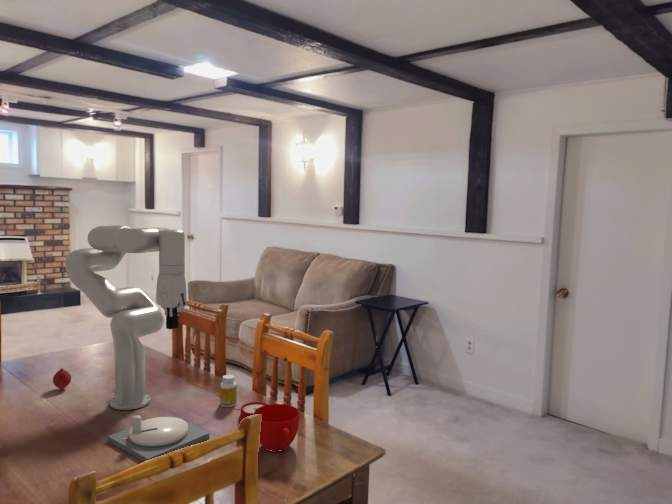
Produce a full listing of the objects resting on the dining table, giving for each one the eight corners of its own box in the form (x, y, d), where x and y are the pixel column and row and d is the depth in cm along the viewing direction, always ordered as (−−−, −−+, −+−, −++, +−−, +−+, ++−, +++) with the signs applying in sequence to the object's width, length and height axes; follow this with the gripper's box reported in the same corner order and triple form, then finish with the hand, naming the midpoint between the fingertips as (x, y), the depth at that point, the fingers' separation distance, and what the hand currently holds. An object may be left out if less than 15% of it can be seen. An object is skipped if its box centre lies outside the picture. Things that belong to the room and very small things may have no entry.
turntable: (133, 451, 140) (133, 429, 140) (125, 427, 154) (125, 407, 154) (193, 439, 148) (193, 419, 147) (181, 417, 162) (181, 399, 161)
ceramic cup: (263, 468, 137) (264, 431, 136) (247, 440, 152) (248, 407, 151) (310, 459, 142) (311, 424, 141) (290, 433, 158) (291, 401, 157)
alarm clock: (254, 399, 175) (285, 401, 165) (257, 417, 174) (288, 421, 165) (229, 408, 167) (260, 410, 157) (232, 427, 166) (263, 431, 157)
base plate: (107, 441, 150) (107, 435, 150) (168, 418, 165) (168, 413, 165) (147, 464, 138) (147, 458, 137) (209, 437, 153) (209, 432, 153)
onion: (49, 390, 186) (48, 368, 185) (63, 385, 191) (62, 364, 190) (61, 393, 184) (60, 371, 183) (75, 388, 189) (74, 366, 188)
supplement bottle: (232, 408, 175) (232, 380, 174) (217, 406, 176) (217, 378, 175) (238, 402, 180) (239, 374, 179) (224, 400, 181) (224, 373, 180)
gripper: (147, 268, 163) (147, 326, 165) (175, 273, 154) (175, 335, 156) (168, 266, 169) (168, 322, 171) (196, 271, 160) (196, 330, 162)
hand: (172, 328), depth 164 cm, fingers closed
